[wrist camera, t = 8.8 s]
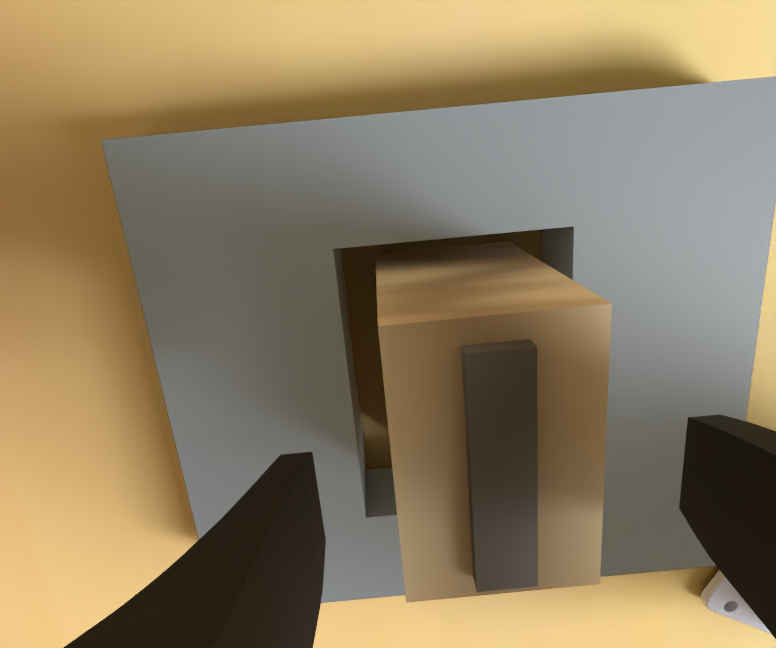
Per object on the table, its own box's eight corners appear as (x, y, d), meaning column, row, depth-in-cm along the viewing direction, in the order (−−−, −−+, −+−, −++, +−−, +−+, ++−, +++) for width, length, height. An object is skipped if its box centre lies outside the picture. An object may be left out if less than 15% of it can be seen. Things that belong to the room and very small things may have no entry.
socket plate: (722, 88, 14) (793, 74, 12) (680, 512, 19) (725, 565, 16) (146, 143, 14) (100, 139, 12) (236, 554, 19) (216, 612, 16)
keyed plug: (508, 241, 15) (623, 310, 8) (511, 420, 17) (608, 600, 10) (375, 254, 15) (377, 333, 8) (393, 431, 17) (407, 618, 10)
